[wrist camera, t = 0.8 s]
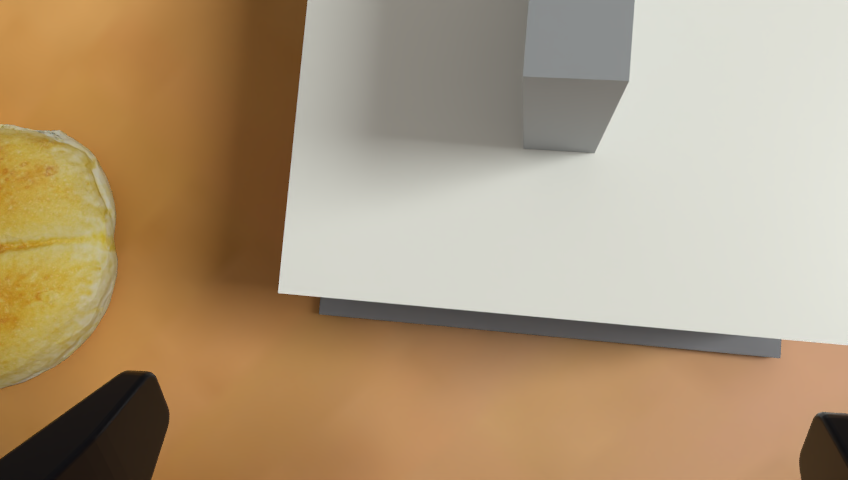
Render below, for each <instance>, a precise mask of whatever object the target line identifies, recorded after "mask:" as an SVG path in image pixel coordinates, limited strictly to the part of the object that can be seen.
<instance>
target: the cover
mask: <svg viewBox="0 0 848 480" xmlns="http://www.w3.org/2000/svg"><path fill="white" fill-rule="evenodd" d="M278 293H282V294H293V295H304V296H315V297H326V298H337V299H348V300H358V301H369V302H380V303H391V304H402V305H413V306H424V307H435V308H446V309H457V310H468V311H479V312H490V313H501V314H512V315H522V316H533V317H544V318H555V319H566V320H577V321H588V322H599V323H610V324H621V325H632V326H643V327H654V328H665V329H676V330H687V331H697V332H708V333H719V334H730V335H741V336H752V337H763V338H774V339H785V340H796V341H807V342H818V343H829V344H840V345H848V0H308V1H307V11H306V21H305V31H304V41H303V50H302V60H301V70H300V80H299V90H298V100H297V110H296V119H295V129H294V139H293V149H292V159H291V169H290V178H289V188H288V198H287V208H286V218H285V228H284V238H283V247H282V257H281V267H280V277H279V287H278Z"/></svg>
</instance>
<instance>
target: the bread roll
mask: <svg viewBox="0 0 848 480" xmlns="http://www.w3.org/2000/svg"><path fill="white" fill-rule="evenodd" d="M115 225H116V209H115V203H114V198H113V194H112V191H111V188H110V185H109V182H108V179H107V177H106V175H105V173H104V171H103V170H102V168H101V166H100V164H99V162H98V160H97V159H96V157H95V156H94V155H93V154H92V152H91V151H90V150H89V149H88V148H86V147H85V146H83V145H82V144H81V143H79V142H78V141H76V140H75V139H73V138H71V137H69V136H67V134H65V133H64V132H62V131H60V130H52V131H49V130H48V131H41V130H31V129H27V128H22V127H18V126H14V125H8V124H5V125H3V124H0V388H4V387H7V386H12V385H15V384H19V383H22V382H25V381H27V380H29V379H31V378H33V377H35V376H38V375H40V374H41V373H43V372H45V371H47V370H49V369H51V368H53V367H55V366H56V365H58V364H59V363H61V362H62V361H64V360H65V359H67V358H68V357H69V356H70V355H71V354H72V353H74V352H75V351H76V350H77V349H78V348H79V347H80V346H81V345H82V344H83V343H84V342H85V341H86V340H87V339H88V338H89V336H90V335H91V334H92V333H93V331H94V330H95V329H96V327H97V326H98V324H99V322H100V320H101V319H102V317H103V316H104V314H105V312H106V310H107V308H108V306H109V303H110V300H111V297H112V293H113V289H114V285H115V281H116V277H117V267H118V259H117V254H116V248H115V243H114V232H115Z"/></svg>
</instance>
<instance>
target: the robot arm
mask: <svg viewBox="0 0 848 480" xmlns="http://www.w3.org/2000/svg"><path fill="white" fill-rule="evenodd" d="M168 424H169V409H168V406H167V403H166V401H165V398H164V396H163V393H162V391H161V388H160V386H159V383H158V380H157V378H156V376H155V375H154V374H153V373H151V372H148V371H124V372H122V373H120V374H118V375H117V376H116V377H114V378H113V379H111V380H110V381H109V382H107V383H106V384H104V385H103V386H102V387H100V388H99V389H97V390H96V391H95V392H93V393H92V394H90V395H89V396H88V397H86V398H85V399H83V400H82V401H81V402H79V403H78V404H76V405H75V406H74V407H72V408H71V409H69V410H68V411H67V412H65V413H64V414H62V415H61V416H60V417H58V418H57V419H56V420H54V421H53V422H51V423H50V424H49V425H47V426H46V427H44V428H43V429H42V430H40V431H39V432H37V433H36V434H35V435H33V436H32V437H30V438H29V439H28V440H26V441H25V442H23V443H22V444H21V445H19V446H18V447H16V448H15V449H14V450H12V451H11V452H9V453H8V454H7V455H5V456H4V457H2V458H1V459H0V480H151V478H152V475H153V472H154V469H155V466H156V463H157V460H158V456H159V453H160V450H161V447H162V444H163V441H164V438H165V434H166V431H167V428H168ZM799 467H800V474H801V479H802V480H848V414H846V413H829V412H821V413H818V414H817V415H816V416H815V417H814V419H813V421H812V423H811V426H810V429H809V431H808V434H807V437H806V439H805V442H804V444H803V447H802V450H801V453H800V458H799Z"/></svg>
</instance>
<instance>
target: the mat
mask: <svg viewBox="0 0 848 480" xmlns="http://www.w3.org/2000/svg"><path fill="white" fill-rule="evenodd" d="M319 314H322V315H332V316H343V317H353V318H364V319H374V320H385V321H395V322H406V323H416V324H427V325H437V326H448V327H458V328H469V329H479V330H490V331H500V332H511V333H521V334H532V335H542V336H553V337H563V338H574V339H584V340H595V341H605V342H616V343H626V344H637V345H647V346H658V347H669V348H679V349H690V350H700V351H711V352H721V353H732V354H742V355H753V356H763V357H774V358H780V355H781V339H774V338H763V337H752V336H741V335H730V334H719V333H708V332H697V331H687V330H676V329H665V328H654V327H643V326H632V325H621V324H610V323H599V322H588V321H577V320H566V319H555V318H544V317H533V316H522V315H512V314H501V313H490V312H479V311H468V310H457V309H446V308H435V307H424V306H413V305H402V304H391V303H380V302H369V301H358V300H348V299H337V298H326V297H321V298H320V308H319Z"/></svg>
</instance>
